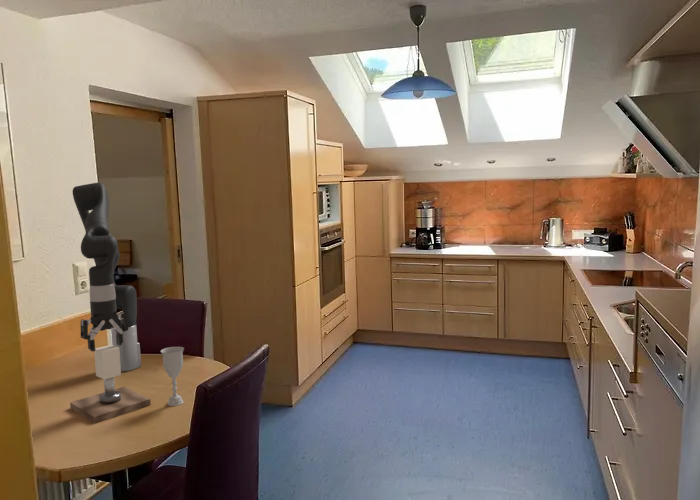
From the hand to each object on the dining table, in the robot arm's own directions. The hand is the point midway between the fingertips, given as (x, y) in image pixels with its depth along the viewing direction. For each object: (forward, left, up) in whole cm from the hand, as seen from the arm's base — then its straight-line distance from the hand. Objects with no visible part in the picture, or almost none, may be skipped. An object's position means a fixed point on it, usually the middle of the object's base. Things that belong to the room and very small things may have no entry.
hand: (106, 347), depth 173 cm
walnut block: (0, 0, -20) cm, 20 cm away
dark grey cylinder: (0, 0, -18) cm, 18 cm away
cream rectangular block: (0, 0, -9) cm, 9 cm away
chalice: (-15, +14, -20) cm, 29 cm away
